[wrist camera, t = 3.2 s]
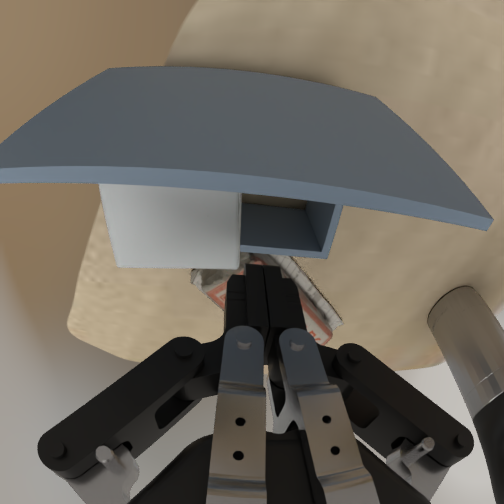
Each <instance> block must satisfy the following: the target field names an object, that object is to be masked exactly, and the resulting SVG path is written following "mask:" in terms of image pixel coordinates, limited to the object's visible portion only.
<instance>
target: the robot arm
mask: <svg viewBox="0 0 504 504" xmlns="http://www.w3.org/2000/svg"><path fill="white" fill-rule="evenodd" d="M428 326H429V328H430V330H431V332H432V334H433V335H434V337H435V339H436V341H437V343H438V346H439V347H440V349H441V351H442V353H443V356H444V358H445V360H446V362H447V364H448V366H449V368H450V370H451V372H452V374H453V376H454V379H455V381H456V383H457V385H458V387H459V390H460V392H461V394H462V396H463V399H464V401H465V403H466V406H467V408H468V410H469V413H470V415H471V418H472V420H473V423H474V426H475V428H476V431H477V434H478V437H479V440H480V443H481V446H482V449H483V452H484V455H485V459H486V462H487V466H488V470H489V475H490V479H491V484H492V488H493V493H494V497H495V501H496V504H504V330H503V328H502V327H501V325H500V323H499V322H498V320H497V319H496V317H495V316H494V314H493V313H492V311H491V310H490V308H489V307H488V306H487V304H486V303H485V301H484V300H483V298H482V297H481V296H480V295H478V294H477V293H476V291H475V290H474V289H473V288H471V287H460V288H457V289H455V290H453V291H451V292H450V293H448V294H447V295H445V296H444V297H443V298H442V299H441V300H440V301H439V302H438V303H437V304H436V305H435V306H434V308H433V309H432V311H431V313H430V314H429V317H428ZM264 365H268V371H269V373H268V376H267V387H268V393H269V399H270V404H271V409H272V415H273V433H272V432H267V431H266V390H265V388H264V387H263V369H264ZM214 395H218V396H217V405H216V414H215V423H214V433H213V434H211V435H208V436H204V437H202V438H200V439H197V440H196V441H194V442H192V443H191V444H189V445H188V446H187V447H186V448H185V449H184V450H183V451H182V452H181V453H180V454H179V455H178V456H177V457H176V458H175V459H174V460H173V461H172V462H171V463H170V464H169V465H167V466H166V467H165V469H163V470H162V471H161V472H160V473H159V474H158V475H157V476H156V477H155V478H154V479H153V480H152V481H151V482H150V483H149V484H148V485H147V486H146V487H145V488H143V489H142V490H141V491H140V492H139V493H138V494H137V495H136V496H135V497H134V498H133V499H131V500H130V490H131V487H132V486H133V484H134V483H135V482H136V481H137V479H138V477H139V466H138V464H137V462H136V460H135V459H136V458H137V457H138V456H139V455H140V454H141V453H143V452H144V451H145V450H146V449H147V448H148V447H150V446H151V445H152V444H153V443H154V442H156V441H157V440H158V439H159V438H160V437H161V436H162V435H164V433H166V432H167V431H168V430H169V429H170V428H171V427H172V426H174V425H175V424H176V423H177V422H178V421H179V420H180V419H181V418H183V417H184V416H185V415H186V414H187V413H188V412H189V411H190V410H191V409H192V408H193V407H195V406H196V405H197V404H198V403H199V402H200V401H201V399H202V398H204V397H209V396H214ZM353 432H354V433H355V434H356V435H358V436H359V437H360V438H361V439H362V440H364V441H365V442H366V443H367V444H369V445H370V446H371V447H372V448H374V449H375V450H376V451H377V452H378V453H379V454H381V455H382V456H383V457H384V458H386V464H385V463H384V462H383V461H382V460H381V459H379V458H378V457H377V456H376V455H375V454H374V453H373V452H371V451H370V450H369V449H368V448H367V447H366V446H365V445H363V444H362V443H361V442H360V441H358V440H357V439H356V438H355V436H354V433H353ZM473 447H474V440H473V436H472V434H471V432H470V431H469V430H468V429H467V428H466V427H465V426H463V425H462V424H461V423H459V422H458V421H457V420H455V419H454V418H453V417H452V416H450V415H449V414H448V413H447V412H445V411H444V410H443V409H441V408H440V407H439V406H438V405H436V404H435V403H434V402H432V401H431V400H430V399H428V398H427V397H426V396H424V395H423V394H422V393H421V392H420V391H418V390H417V389H416V388H414V387H413V386H412V385H411V384H409V383H408V382H407V381H405V380H404V379H403V378H402V377H400V376H399V375H398V374H396V373H395V372H394V371H393V370H391V369H390V368H389V367H388V366H386V365H385V364H384V363H382V362H381V361H380V360H379V359H377V358H376V357H375V356H374V355H372V354H371V353H370V352H368V351H367V350H366V349H365V348H363V347H362V346H360V345H357V344H354V343H347V344H344V345H342V346H340V348H339V349H338V350H337V349H333V348H330V347H326V346H323V345H320V344H318V343H317V342H316V341H315V339H314V337H313V336H312V335H311V334H310V333H309V332H308V331H307V327H306V323H305V318H304V314H303V309H302V305H301V301H300V297H299V292H298V288H297V286H296V284H295V283H294V282H293V281H292V279H291V278H282V274H281V268H280V266H274V265H260V264H247V263H245V265H244V271H243V275H236V274H232V275H231V277H230V278H229V280H228V281H227V287H226V297H225V307H224V333H223V335H222V336H221V337H220V338H218V339H217V340H215V341H212V342H208V343H203V344H201V343H200V342H198V341H197V340H195V339H193V338H190V337H177V338H174V339H172V340H170V341H169V342H168V343H166V344H165V345H164V346H162V347H161V348H160V349H158V350H157V351H156V352H154V353H153V354H152V355H150V356H149V357H148V358H146V359H145V360H144V361H142V362H141V363H140V364H139V365H137V366H136V367H135V368H134V369H132V370H131V371H129V372H128V373H127V374H125V375H124V376H122V377H121V378H120V379H118V380H117V381H116V382H114V383H113V384H112V385H110V386H109V387H108V388H106V389H105V390H104V391H102V392H101V393H100V394H98V395H97V396H95V397H94V398H93V399H91V400H90V401H89V402H87V403H86V404H85V405H83V406H82V407H80V408H79V409H78V410H76V411H75V412H74V413H72V414H71V415H69V416H68V417H67V418H65V419H64V420H62V421H61V422H60V423H59V424H57V425H56V426H54V427H53V428H51V429H50V430H49V431H47V432H46V433H45V434H43V435H42V437H41V438H40V440H39V442H38V455H39V457H40V459H41V461H42V462H43V464H44V465H45V466H47V467H48V468H49V469H51V470H52V471H54V472H55V473H56V474H57V475H58V476H59V477H61V478H63V479H64V480H66V481H67V482H68V483H69V485H70V486H71V487H72V488H73V489H74V491H75V492H76V493H77V494H78V495H79V496H80V498H81V499H82V500H83V501H84V502H85V503H86V504H431V503H430V500H431V498H432V496H433V495H434V493H435V492H436V490H437V489H438V487H439V485H440V484H441V482H442V481H443V479H444V477H445V475H446V474H447V472H448V470H449V468H450V467H451V466H452V465H453V464H455V463H457V462H459V461H460V460H462V459H463V458H465V457H466V456H468V455H469V454H470V453H471V451H472V450H473Z"/></svg>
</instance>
